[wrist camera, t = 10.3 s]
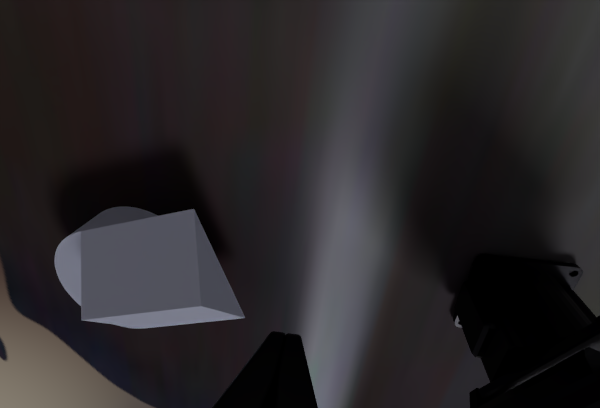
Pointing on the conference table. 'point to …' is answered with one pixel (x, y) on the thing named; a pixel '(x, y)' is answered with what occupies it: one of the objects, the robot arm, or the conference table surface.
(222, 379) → the conference table surface
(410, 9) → the conference table surface
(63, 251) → the wedge on round base
